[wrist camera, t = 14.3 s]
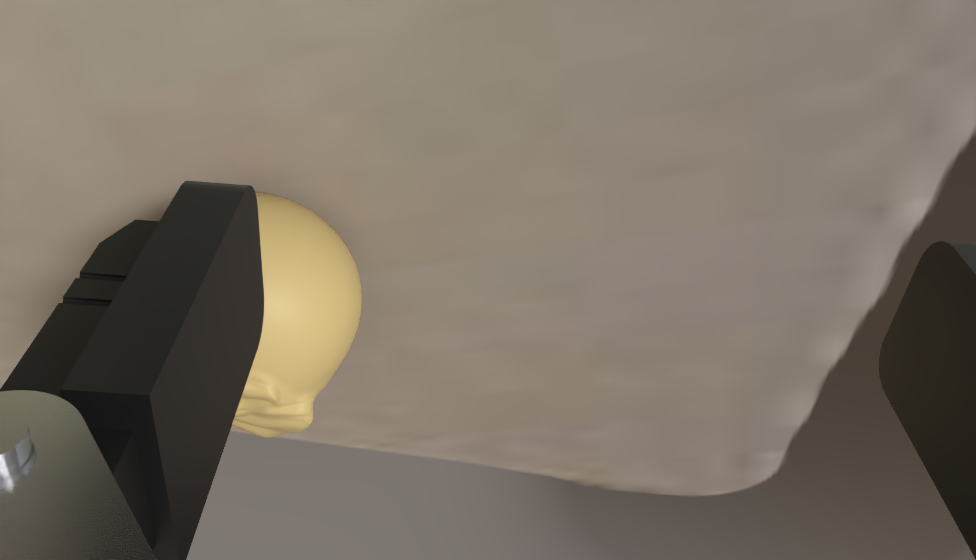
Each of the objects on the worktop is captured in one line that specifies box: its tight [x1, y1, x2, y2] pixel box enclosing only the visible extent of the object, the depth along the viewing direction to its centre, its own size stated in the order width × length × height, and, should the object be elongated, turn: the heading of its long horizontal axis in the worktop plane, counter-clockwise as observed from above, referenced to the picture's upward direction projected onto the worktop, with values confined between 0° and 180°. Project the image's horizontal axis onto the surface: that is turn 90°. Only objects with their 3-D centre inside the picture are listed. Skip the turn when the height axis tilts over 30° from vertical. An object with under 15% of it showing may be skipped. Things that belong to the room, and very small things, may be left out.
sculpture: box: [232, 192, 362, 438], centre depth 46 cm, size 11×12×11 cm
